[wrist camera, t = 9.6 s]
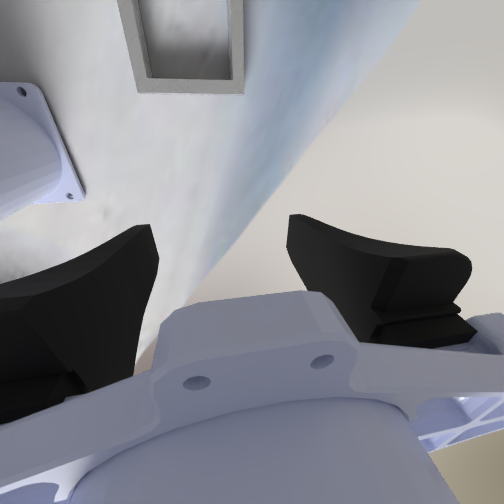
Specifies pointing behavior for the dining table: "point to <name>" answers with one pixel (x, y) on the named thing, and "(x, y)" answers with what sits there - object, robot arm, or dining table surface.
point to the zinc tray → (183, 86)
